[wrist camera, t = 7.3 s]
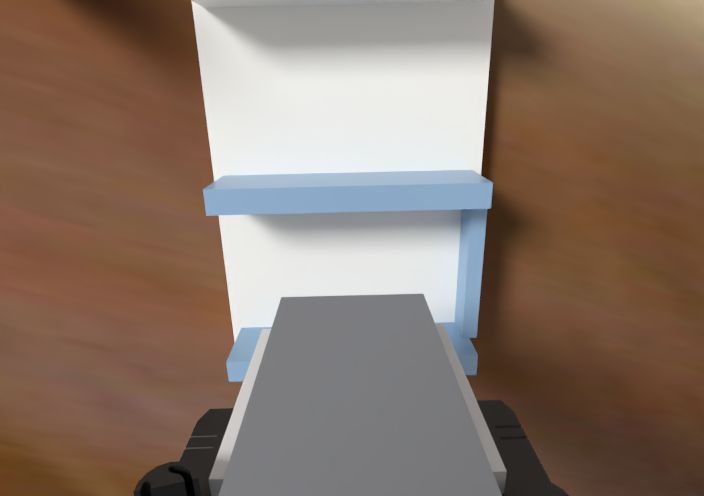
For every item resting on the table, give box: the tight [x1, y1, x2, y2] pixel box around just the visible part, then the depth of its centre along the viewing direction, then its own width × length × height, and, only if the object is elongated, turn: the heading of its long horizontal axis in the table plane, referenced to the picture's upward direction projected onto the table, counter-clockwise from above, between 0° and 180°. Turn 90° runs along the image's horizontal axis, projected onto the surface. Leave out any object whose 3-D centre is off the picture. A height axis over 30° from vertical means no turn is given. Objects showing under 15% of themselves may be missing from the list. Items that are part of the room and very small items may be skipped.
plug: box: [218, 294, 502, 496], centre depth 12 cm, size 5×5×9 cm
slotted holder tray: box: [192, 0, 494, 382], centre depth 21 cm, size 30×14×4 cm, turn 1°
